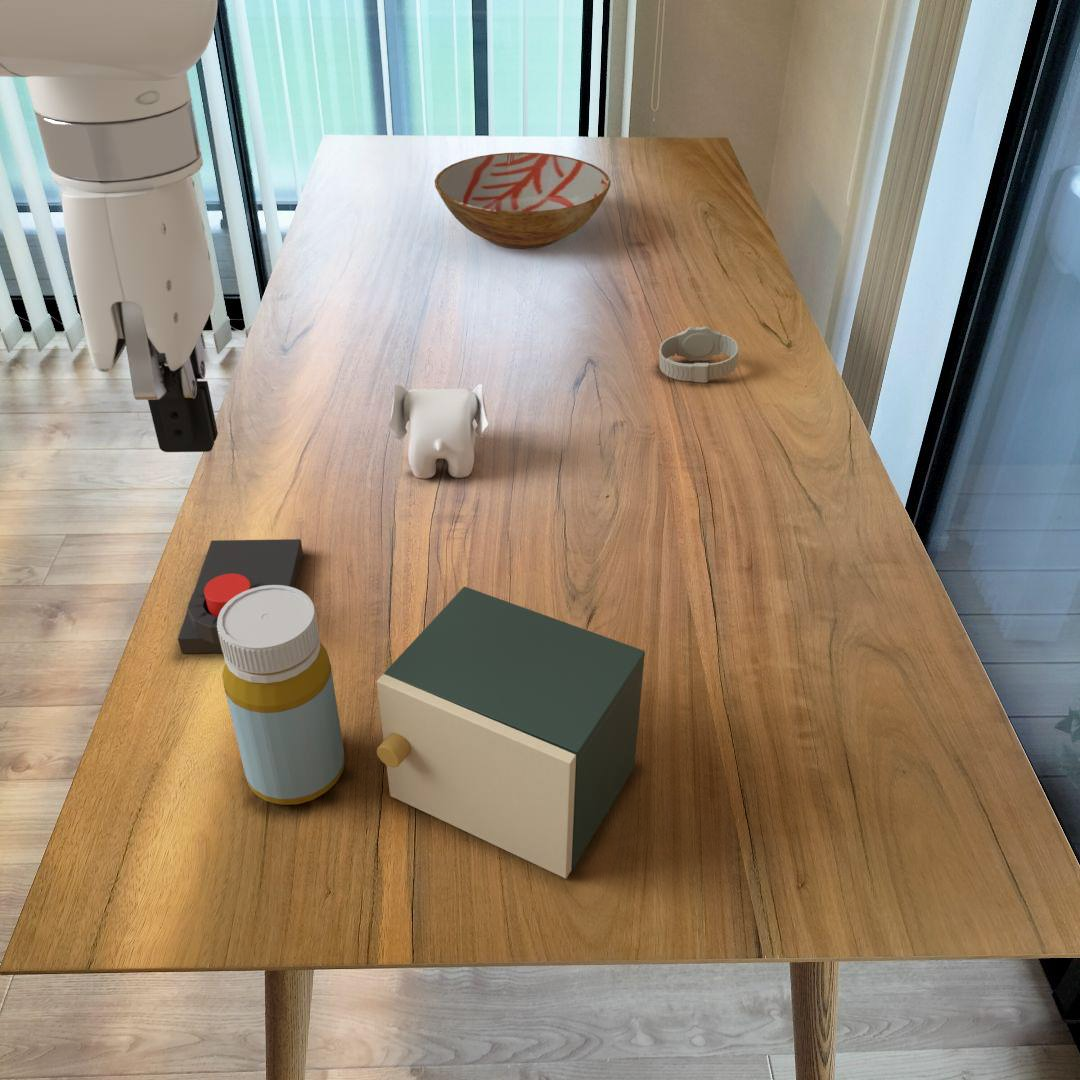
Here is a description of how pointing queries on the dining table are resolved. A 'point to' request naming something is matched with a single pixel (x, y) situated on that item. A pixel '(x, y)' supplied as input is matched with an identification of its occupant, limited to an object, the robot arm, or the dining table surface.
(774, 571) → the dining table surface
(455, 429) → the elephant figurine
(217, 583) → the button
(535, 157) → the bowl
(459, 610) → the cupboard
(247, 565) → the switch
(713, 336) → the wristwatch
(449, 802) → the door
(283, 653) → the bottle
